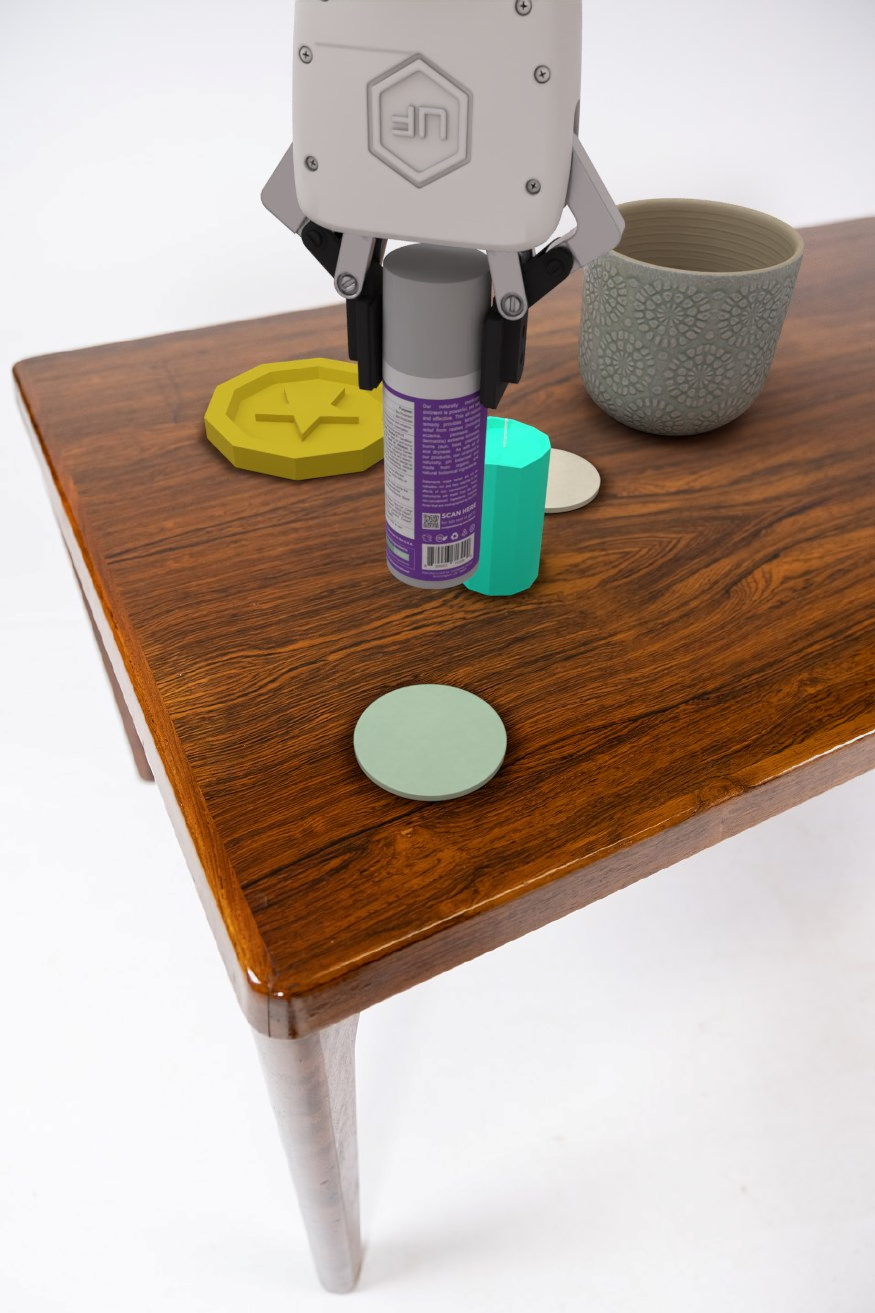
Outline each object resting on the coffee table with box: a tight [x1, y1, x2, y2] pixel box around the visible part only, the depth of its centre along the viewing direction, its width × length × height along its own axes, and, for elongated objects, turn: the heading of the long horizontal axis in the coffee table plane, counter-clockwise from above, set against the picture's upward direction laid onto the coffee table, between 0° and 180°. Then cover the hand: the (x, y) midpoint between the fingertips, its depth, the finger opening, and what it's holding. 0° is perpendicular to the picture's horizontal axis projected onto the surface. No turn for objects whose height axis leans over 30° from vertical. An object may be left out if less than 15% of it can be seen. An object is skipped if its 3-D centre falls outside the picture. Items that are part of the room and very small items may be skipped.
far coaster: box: [544, 447, 601, 514], centre depth 81 cm, size 9×9×1 cm
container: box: [382, 242, 493, 590], centre depth 46 cm, size 5×5×15 cm
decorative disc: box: [203, 357, 384, 481], centre depth 87 cm, size 17×18×2 cm
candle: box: [462, 415, 552, 597], centre depth 68 cm, size 6×6×12 cm
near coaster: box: [353, 683, 508, 802], centre depth 60 cm, size 9×9×1 cm
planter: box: [577, 197, 805, 437], centre depth 85 cm, size 17×17×15 cm
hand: (435, 381), depth 44 cm, fingers closed on container, 4 cm apart
